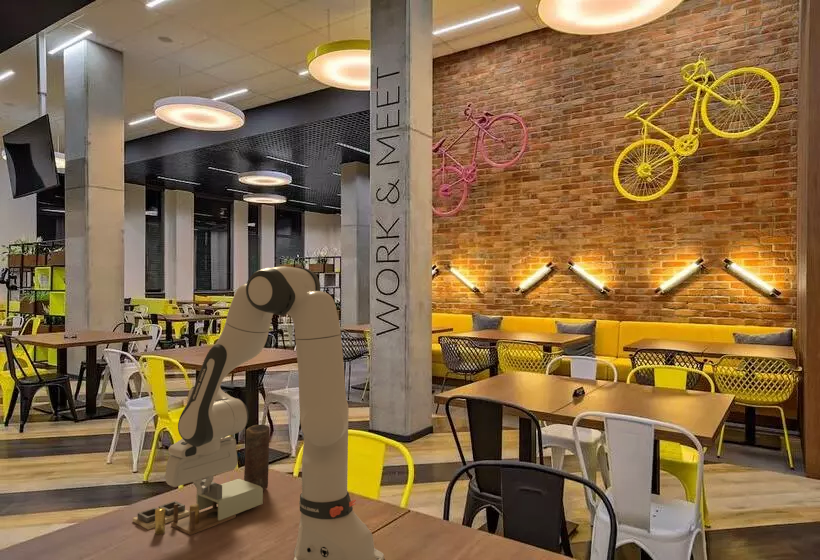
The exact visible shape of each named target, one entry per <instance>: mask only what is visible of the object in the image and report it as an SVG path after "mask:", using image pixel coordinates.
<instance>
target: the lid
mask: <svg viewBox="0 0 820 560" xmlns="http://www.w3.org/2000/svg"><path fill="white" fill-rule="evenodd" d="M205 481H206V479H205V478H203V479H202V483H200V485H201V486H203V485H204V483H205ZM263 491H264V490H263V488H261V486H258V485H256V484H253V483H250V482H247V481H244V479H241V478H237V479H233V480H230V481H226V482H224V483H221V484H220V483H218V482H217V483H216V482H214V481H212V483H211V485H210V491H209V492H208V493H205V494H202V495H198V494H197V493H196V499H195V500H196V503H195V504H198V505H199V511H201V510H202V511H203V510H205V509H208V508H211V507H213V501H214V502H217V507H218V520H222V519H224V518H227V517H230V516H232V515H235V514H236V515H238V514H240V513H242V512H245V511H248V510H250V509H252V508H255V507H257V506H260V505H263V504H264V503H263V501H264V499H263V498H264V497H263V496H264V493H263Z"/></svg>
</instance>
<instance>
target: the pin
mask: <svg viewBox="0 0 820 560" xmlns="http://www.w3.org/2000/svg"><path fill="white" fill-rule="evenodd" d="M164 533H166V523H165V508H159V507H158V508H157V509H156V510H155V527H154V534H155V535H163V534H164Z"/></svg>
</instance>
